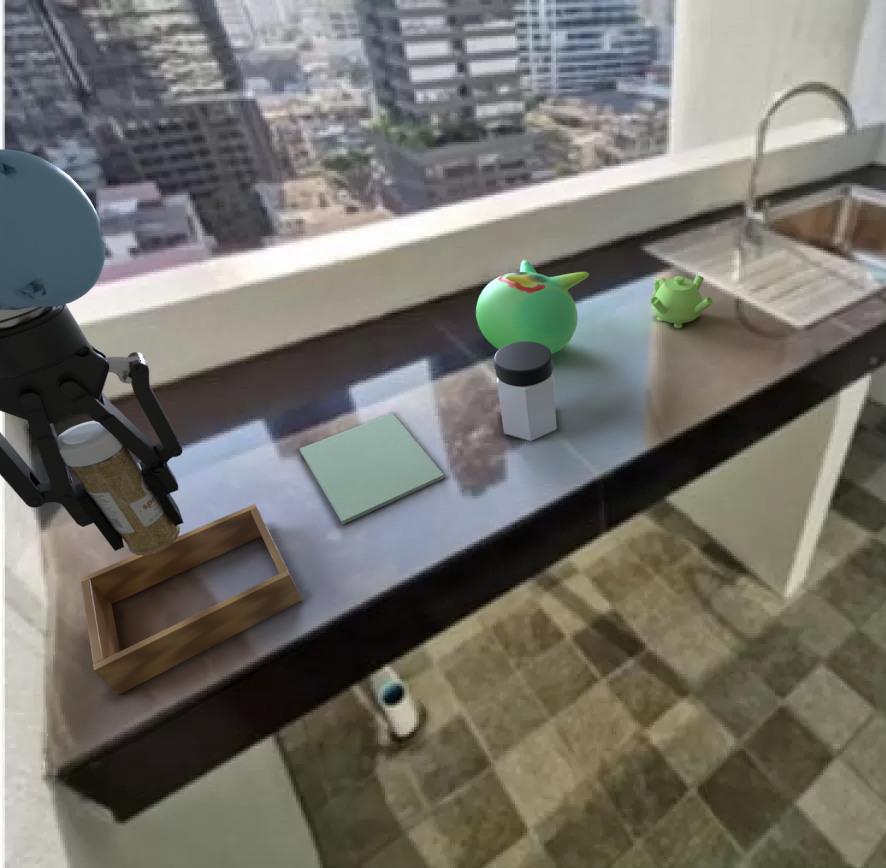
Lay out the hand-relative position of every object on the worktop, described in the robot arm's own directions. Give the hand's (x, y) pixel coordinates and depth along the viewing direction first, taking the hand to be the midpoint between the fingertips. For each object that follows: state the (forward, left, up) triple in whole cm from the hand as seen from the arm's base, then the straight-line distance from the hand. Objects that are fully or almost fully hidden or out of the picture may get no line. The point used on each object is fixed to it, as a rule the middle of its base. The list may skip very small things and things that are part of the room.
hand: (147, 528), depth 59 cm
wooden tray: (0, 0, -12) cm, 12 cm away
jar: (+34, -31, -13) cm, 48 cm away
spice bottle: (0, 0, -2) cm, 2 cm away
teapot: (+68, -55, -13) cm, 89 cm away
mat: (+24, -10, -12) cm, 29 cm away
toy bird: (+56, -28, -13) cm, 64 cm away
